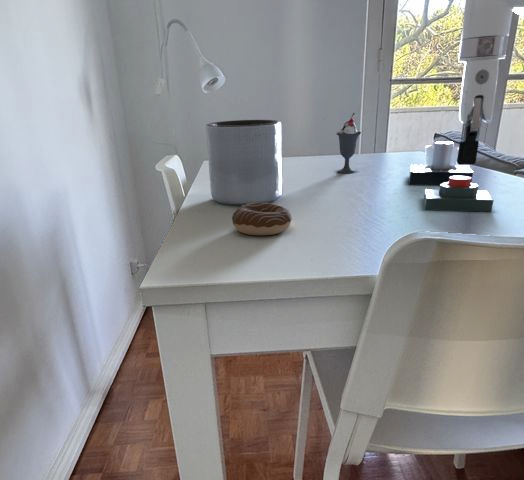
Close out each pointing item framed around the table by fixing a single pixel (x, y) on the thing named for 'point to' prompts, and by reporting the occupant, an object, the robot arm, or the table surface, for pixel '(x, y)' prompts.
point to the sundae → (348, 143)
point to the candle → (431, 149)
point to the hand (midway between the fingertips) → (465, 163)
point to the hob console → (435, 174)
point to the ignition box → (458, 198)
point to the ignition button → (459, 181)
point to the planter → (245, 161)
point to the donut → (261, 219)
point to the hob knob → (442, 155)
